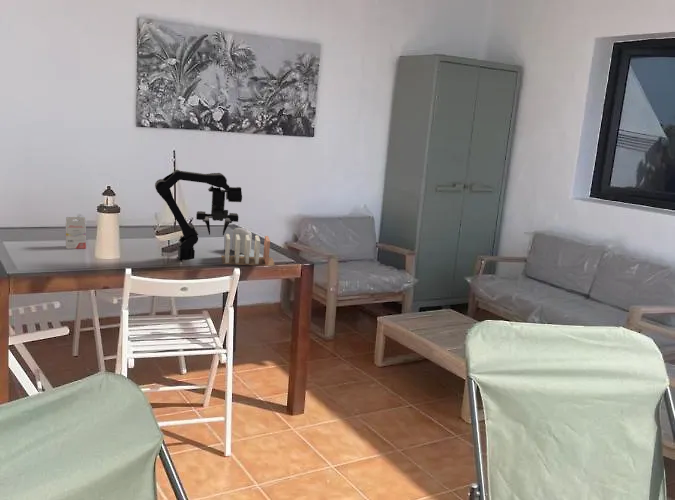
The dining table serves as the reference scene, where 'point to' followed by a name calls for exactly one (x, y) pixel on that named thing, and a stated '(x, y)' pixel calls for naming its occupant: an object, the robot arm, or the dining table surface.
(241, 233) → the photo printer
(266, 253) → the domino
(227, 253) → the domino
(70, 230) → the ink cartridge box
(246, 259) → the domino
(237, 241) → the domino
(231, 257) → the walnut board
